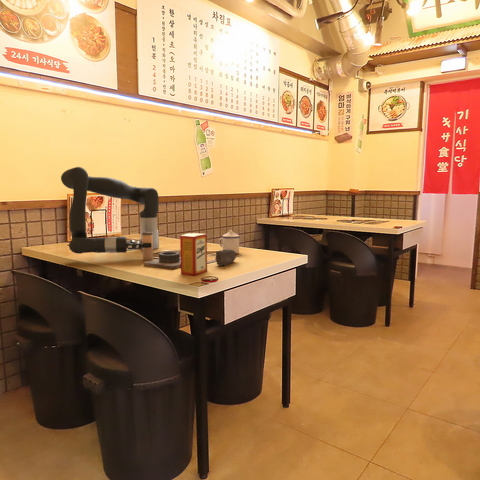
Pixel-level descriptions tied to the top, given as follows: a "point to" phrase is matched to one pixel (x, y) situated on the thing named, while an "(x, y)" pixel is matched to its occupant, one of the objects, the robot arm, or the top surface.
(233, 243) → the teacup with lid
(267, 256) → the top surface
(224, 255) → the perforated stone tool
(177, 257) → the socket board
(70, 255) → the top surface
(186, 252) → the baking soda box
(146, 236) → the tan cylinder
